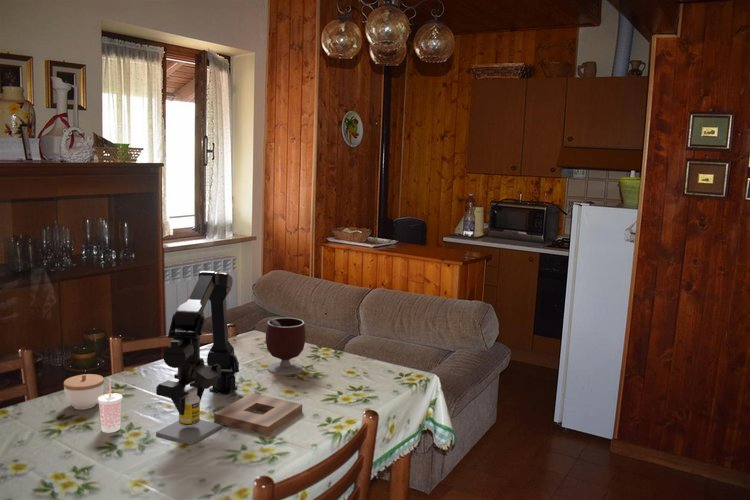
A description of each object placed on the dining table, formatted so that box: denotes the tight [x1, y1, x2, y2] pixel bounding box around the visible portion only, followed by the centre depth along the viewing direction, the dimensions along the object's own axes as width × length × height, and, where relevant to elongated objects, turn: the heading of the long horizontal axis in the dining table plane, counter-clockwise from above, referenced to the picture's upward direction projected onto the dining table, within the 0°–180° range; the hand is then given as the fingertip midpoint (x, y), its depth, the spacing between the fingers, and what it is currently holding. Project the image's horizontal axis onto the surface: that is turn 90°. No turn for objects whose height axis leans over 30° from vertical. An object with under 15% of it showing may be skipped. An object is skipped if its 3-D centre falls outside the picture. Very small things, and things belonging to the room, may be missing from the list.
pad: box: [155, 419, 222, 446], centre depth 170 cm, size 12×12×1 cm
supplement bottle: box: [178, 386, 201, 427], centre depth 169 cm, size 5×5×10 cm
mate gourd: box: [265, 317, 306, 376], centre depth 220 cm, size 16×14×20 cm
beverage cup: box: [97, 378, 124, 434], centre depth 168 cm, size 6×6×14 cm
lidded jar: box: [63, 373, 105, 410], centre depth 183 cm, size 11×11×9 cm
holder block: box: [213, 392, 303, 436], centre depth 180 cm, size 18×18×2 cm
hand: (189, 411), depth 169 cm, fingers closed on supplement bottle, 5 cm apart
